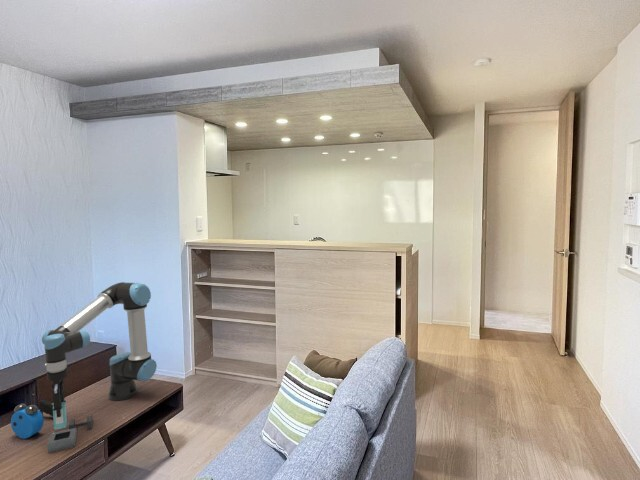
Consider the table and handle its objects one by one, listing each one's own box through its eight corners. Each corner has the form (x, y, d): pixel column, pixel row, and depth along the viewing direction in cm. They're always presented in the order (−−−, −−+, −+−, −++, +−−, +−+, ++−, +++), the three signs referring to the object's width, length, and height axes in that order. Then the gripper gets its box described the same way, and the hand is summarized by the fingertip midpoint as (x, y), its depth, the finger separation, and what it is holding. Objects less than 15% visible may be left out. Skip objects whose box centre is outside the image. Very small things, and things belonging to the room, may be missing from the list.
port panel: (77, 436, 194) (76, 427, 194) (74, 447, 185) (73, 438, 185) (51, 441, 190) (51, 432, 190) (47, 453, 181) (47, 443, 181)
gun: (59, 431, 210) (65, 414, 208) (33, 414, 212) (40, 398, 210) (63, 428, 212) (70, 412, 211) (38, 412, 215) (44, 396, 213)
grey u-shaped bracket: (93, 422, 207) (92, 414, 206) (91, 428, 200) (91, 420, 200) (71, 426, 203) (70, 418, 202) (69, 433, 196) (68, 425, 196)
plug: (67, 422, 189) (65, 399, 189) (65, 427, 185) (64, 403, 185) (55, 425, 188) (54, 401, 187) (54, 429, 184) (52, 406, 183)
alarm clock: (45, 433, 197) (42, 403, 196) (33, 441, 191) (30, 409, 190) (23, 430, 200) (20, 400, 199) (11, 437, 194) (8, 406, 193)
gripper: (50, 364, 191) (54, 413, 193) (43, 378, 175) (47, 431, 177) (69, 361, 194) (72, 410, 196) (63, 375, 178) (67, 427, 180)
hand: (60, 420), depth 186 cm, fingers closed on plug, 4 cm apart
